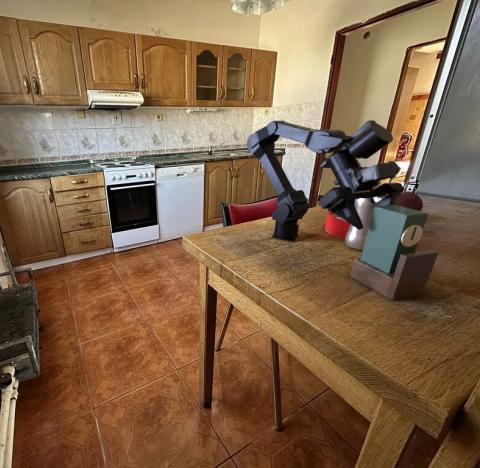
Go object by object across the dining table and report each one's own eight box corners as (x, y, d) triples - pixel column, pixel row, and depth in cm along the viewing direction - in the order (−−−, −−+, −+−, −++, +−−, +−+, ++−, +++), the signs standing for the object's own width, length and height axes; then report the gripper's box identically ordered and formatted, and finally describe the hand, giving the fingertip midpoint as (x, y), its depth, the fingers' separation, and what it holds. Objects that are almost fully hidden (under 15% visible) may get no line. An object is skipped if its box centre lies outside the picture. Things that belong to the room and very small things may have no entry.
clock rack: (349, 276, 62) (359, 238, 59) (376, 271, 64) (387, 234, 60) (392, 300, 53) (407, 257, 50) (422, 294, 55) (439, 252, 51)
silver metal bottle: (362, 254, 73) (381, 184, 66) (338, 246, 78) (353, 180, 71) (375, 249, 76) (394, 181, 68) (350, 241, 81) (366, 178, 74)
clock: (360, 259, 61) (374, 206, 56) (378, 257, 62) (393, 204, 57) (390, 275, 54) (409, 216, 49) (410, 272, 55) (431, 214, 50)
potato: (373, 217, 102) (380, 192, 98) (391, 212, 107) (399, 188, 103) (406, 225, 93) (415, 197, 89) (425, 219, 98) (435, 193, 94)
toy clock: (332, 205, 99) (399, 213, 88) (329, 220, 101) (395, 229, 90) (324, 219, 84) (404, 230, 73) (320, 235, 87) (398, 249, 75)
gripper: (339, 150, 55) (374, 213, 49) (408, 146, 59) (449, 205, 53) (307, 181, 65) (333, 236, 59) (368, 176, 69) (398, 228, 63)
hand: (377, 226), depth 58 cm, fingers open, 9 cm apart
